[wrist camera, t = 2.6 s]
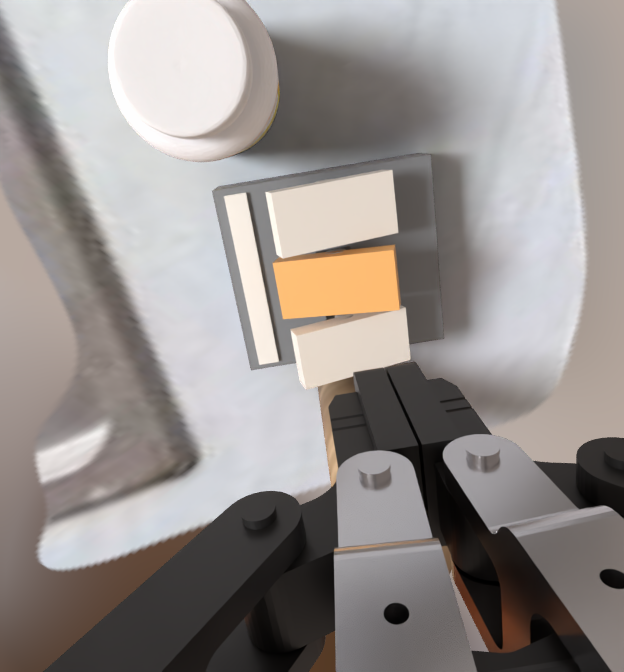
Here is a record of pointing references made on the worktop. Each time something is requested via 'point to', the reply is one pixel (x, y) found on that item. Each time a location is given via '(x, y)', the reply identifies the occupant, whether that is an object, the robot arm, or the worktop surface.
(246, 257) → the board
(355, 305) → the paddle middle
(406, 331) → the paddle near post
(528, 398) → the worktop surface
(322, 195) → the paddle near bottle
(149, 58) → the supplement bottle
